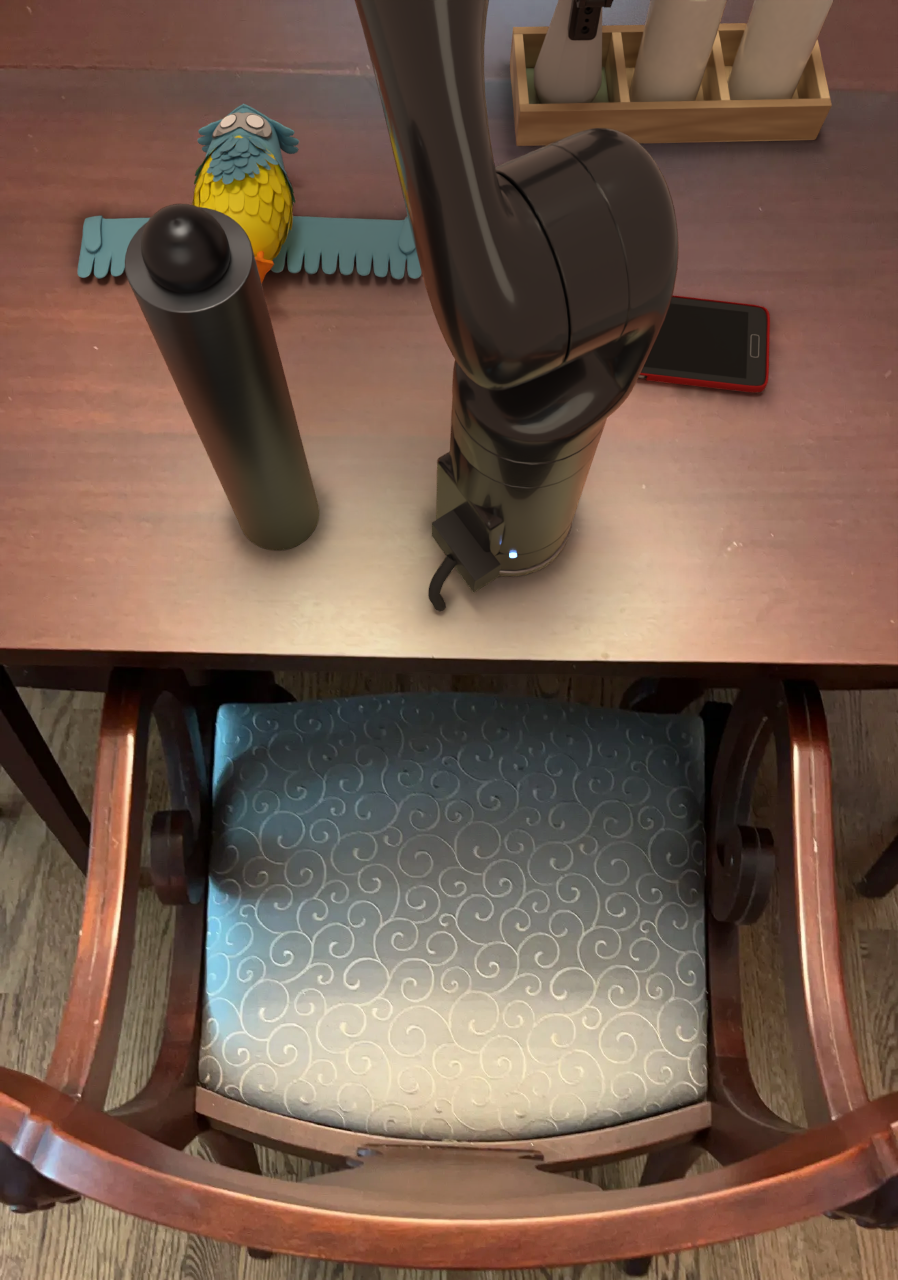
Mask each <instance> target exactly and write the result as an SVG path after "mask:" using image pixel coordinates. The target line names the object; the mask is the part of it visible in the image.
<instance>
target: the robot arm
mask: <svg viewBox="0 0 898 1280" xmlns="http://www.w3.org/2000/svg"><path fill="white" fill-rule="evenodd" d="M613 2H614V0H572V3H571V10H570V16H569V23H568V37H569V39H570V40H573V41H576V40H592V39H594V38H595V37H596V35H597V29H598V24H599V19H600V13H601V8H602V9H603V8H605V9H607V8H609V9H610V8H612V5H613ZM354 3H355V7H356V10H357V13H358V17H359V20H360V26H361V28H362V31H363V36H364V39H365V42H366V47H367V50H368V54H369V58H370V62H371V65H372V70H373V74H374V78H375V82H376V87H377V90H378V95H379V98H380V103H381V107H382V111H383V116H384V119H385V124H386V125H385V126H386V128H387V133H388V138H389V142H390V147H391V150H392V154H393V159H394V163H395V168H396V172H397V176H398V180H399V185H400V189H401V194H402V197H403V203H404V206H405V211H406V217H408V220H409V224H410V229H411V233H412V237H413V241H414V245H415V249H416V253H417V257H418V261H419V265H420V269H421V277H422V280H423V283H424V286H425V289H426V293H427V296H428V299H429V303H430V305H431V309H432V312H433V314H434V317H435V321H436V322H437V325H438V328H439V331H440V333H441V335H442V337H443V339H444V342H445V343H446V345H447V347H448V350H449V351H450V353H451V355H452V357H453V359H454V363H453V368H452V369H453V370H452V381H451V382H452V385H451V386H452V387H451V395H452V398H451V400H452V401H451V412H450V413H451V415H450V436H449V437H450V439H449V451H447V452H446V453H444V454H442V455H441V456H439V457H438V458H437V460H436V497H435V499H436V500H435V502H436V505H435V520H433V521H432V522H431V537H432V539H433V540H434V541H435V543H436V544H437V546H438V547H439V548H440V550H441V551H442V553H443V554H444V556H445V557H444V559H443V560H442V562H441V563H440V565H439V566H438V568H437V569H436V571H435V572H434V574H433V576H432V578H431V580H430V582H429V585H428V591H427V594H428V595H427V596H428V600H429V602H430V603H431V605H432V606H433V609H435V611H436V612H443V611H444V610H445V609H446V608H447V603H446V601H445V598H443V596H442V594H441V592H442V589H443V586H444V584H445V582H446V581H447V579H448V577H450V575H451V573H452V572H453V570H454V569H455V570H456V571H457V573H458V574H459V576H460V577H461V578H462V580H463V581H464V582H465V584H466V585H467V586H468V587H469V589H470V591H471V592H473V594H474V593H475V592H478V591H479V590H480V589H482V588H483V587H485V586H487V585H488V584H491V582H493V581H495V580H496V579H498V578H499V576H500V577H520V576H525V575H529V574H531V573H532V574H533V573H535V572H538V571H540V570H542V569H544V568H545V567H547V566H548V565H550V564H552V562H553V561H555V560H556V558H557V557H559V555H560V554H561V553H562V551H563V549H564V548H565V546H566V544H567V542H568V540H569V536H570V533H571V530H572V526H573V521H574V518H575V514H576V512H577V508H578V506H579V502H580V500H581V497H582V494H583V491H584V488H585V485H586V482H587V479H588V476H589V473H590V471H591V467H592V464H593V461H594V458H595V455H596V452H597V449H598V446H599V443H600V441H601V438H602V435H603V432H604V429H605V426H606V423H607V421H608V420H607V419H608V418H610V416H611V415H613V414H614V413H615V412H616V411H617V410H618V409H619V408H620V407H621V406H622V405H623V404H624V403H625V402H626V400H627V399H628V398H629V396H630V395H631V393H632V392H633V390H634V388H635V386H636V383H637V381H638V380H639V378H638V377H639V375H640V373H641V370H642V368H643V366H644V364H645V362H646V360H647V357H648V355H649V353H650V351H651V349H652V347H653V345H654V342H655V340H656V338H657V336H658V334H659V331H660V329H661V327H662V324H663V322H664V320H665V317H666V314H667V311H668V308H669V305H670V302H671V299H672V296H673V295H674V291H675V286H676V282H677V281H676V280H677V274H678V269H679V268H678V266H679V253H680V252H679V250H680V247H679V245H680V244H679V243H680V242H679V230H678V223H677V216H676V210H675V205H674V201H673V198H672V194H671V191H670V188H669V186H668V183H667V181H666V178H665V177H664V175H663V174H664V173H662V171H661V169H660V167H659V166H658V163H657V162H656V161H655V159H654V158H653V156H652V155H651V154H650V153H649V151H648V150H647V149H646V148H645V147H644V146H642V145H641V143H638V142H637V141H636V140H634V139H633V138H631V137H630V136H628V135H626V134H624V133H622V132H620V131H617V130H614V129H609V128H593V129H588V130H584V131H581V132H578V133H575V134H573V135H570V136H568V137H565V138H563V139H560V140H558V141H556V142H553V143H551V144H548V145H543V146H541V147H539V148H537V149H534V150H532V151H530V152H528V153H525V154H522V155H520V156H518V157H516V158H513V159H511V160H508V161H505V162H503V163H501V164H498V165H495V159H494V155H493V148H492V147H493V146H492V142H491V134H490V128H489V118H488V117H489V116H488V107H487V100H486V83H485V82H486V81H485V80H486V79H485V42H486V29H487V19H488V18H487V17H488V11H489V3H490V0H354Z"/></svg>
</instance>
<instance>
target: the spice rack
mask: <svg viewBox="0 0 898 1280" xmlns="http://www.w3.org/2000/svg"><path fill="white" fill-rule="evenodd" d="M746 24H747V22H732V23H731V22H727V23H725V22H724V23H720V25H719V29H718V32H717V35H716V38H715V41H714V44H713V48H712V51H711V54H710V57H709V60H708V63H707V67H706V70H705V73H704V76H703V79H702V83H701V86H700V89H699V92H698V95H697V98H696V101H664V102H630V98H629V90H630V85H631V81H632V77H633V73H634V68H635V64H636V60H637V55H638V51H639V47H640V43H641V38H642V34H643V30H644V25H645V24H616V25H615V24H613V25H612V24H610V25H602V80H601V86H600V89H599V91H598V92H597V94H596V96H595V97H594V99H593V100H592V101H591V102H590V103H560V104H540V101H539V98H538V96H537V93H536V90H535V88H534V68H535V65H536V62H537V59H538V56H539V54H540V51H541V48H542V45H543V42H544V40H545V37H546V34H547V31H548V28H549V26H550V25H548V26H546V25H545V26H513V27H512V34H511V42H510V43H511V44H510V56H509V71H510V83H511V84H510V86H511V94H512V96H511V97H512V107H513V120H514V121H513V122H514V132H515V145H516V147H528V146H529V147H530V146H531V147H533V146H534V147H535V146H546V145H548V144H551V143H553V142H556V141H558V140H560V139H563V138H565V137H568V136H570V135H573V134H575V133H578V132H581V131H584V130H588V129H593V128H609V129H614V130H617V131H620V132H622V133H624V134H626V135H628V136H630V137H631V138H633V139H634V140H636V141H637V142H638V143H639V144H672V143H675V144H676V143H678V144H679V143H720V142H721V143H722V142H723V143H725V142H726V143H727V142H728V143H729V142H769V141H770V142H771V141H772V142H773V141H774V142H775V141H776V142H777V141H815V140H817V137H818V135H819V133H820V131H821V130H822V128H823V125H824V123H825V121H826V119H827V117H828V115H829V113H830V110H831V109H832V107H833V105H832V99H831V95H830V91H829V86H828V81H827V78H826V71H825V67H824V63H823V57H822V53H821V48H820V43H819V40H818V39H819V38H818V39H817V41H816V44H815V46H814V48H813V51H812V53H811V55H810V58H809V60H808V62H807V65H806V67H805V69H804V72H803V74H802V76H801V79H800V81H799V83H798V86H797V88H796V90H795V93H794V95H793V97H792V99H768V100H730V95H729V89H728V83H727V79H728V76H729V73H730V71H731V68H732V65H733V62H734V59H735V56H736V53H737V50H738V47H739V44H740V41H741V39H742V36H743V33H744V30H745V27H746Z"/></svg>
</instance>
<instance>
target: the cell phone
mask: <svg viewBox="0 0 898 1280" xmlns="http://www.w3.org/2000/svg"><path fill="white" fill-rule="evenodd" d="M770 335H771V315H770V312H769V310H768V308H766V307H764V306H761V305H757V304H752V303H745V302H744V303H742V302H736V301H735V302H733V301H725V300H717V299H708V298H699V297H690V296H683V295H674V294H673V296H672V299H671V302H670V305H669V308H668V311H667V314H666V317H665V320H664V322H663V324H662V327H661V329H660V331H659V334H658V336H657V338H656V340H655V342H654V345H653V347H652V349H651V351H650V353H649V355H648V357H647V360H646V362H645V364H644V366H643V368H642V370H641V373H640V375H639V377H638V379H644V380H645V381H648V382H658V383H665V384H666V383H667V384H675V385H682V386H683V385H684V386H692V387H699V388H700V387H701V388H709V389H719V390H728V391H736V392H745V393H761V392H763V391H764V390H765V389H766V387H767V386H768V383H769V376H770V343H771V342H770V339H771V336H770Z"/></svg>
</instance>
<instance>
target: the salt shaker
mask: <svg viewBox="0 0 898 1280" xmlns="http://www.w3.org/2000/svg"><path fill="white" fill-rule="evenodd" d="M571 3H572V0H557V3H556V5H555V8H554V12H553V15H552V18H551V20H550V23H549V25H548V26H549V28H548V31H547V34H546V37H545V40H544V42H543V45H542V48H541V51H540V54H539V56H538V59H537V62H536V65H535V68H534V88H535V90H536V93H537V96H538V98H539V101H540V104H560V103H590V102H591V101H592V100H593V99H594V97H595V96H596V94H597V92H598V91H599V89H600V86H601V80H602V26H603V7H602V8H601V13H600V19H599V24H598V29H597V35H596V37H595V38H594V39H592V40H576V41H573V40H570V39H569V37H568V23H569V16H570V10H571Z"/></svg>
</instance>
